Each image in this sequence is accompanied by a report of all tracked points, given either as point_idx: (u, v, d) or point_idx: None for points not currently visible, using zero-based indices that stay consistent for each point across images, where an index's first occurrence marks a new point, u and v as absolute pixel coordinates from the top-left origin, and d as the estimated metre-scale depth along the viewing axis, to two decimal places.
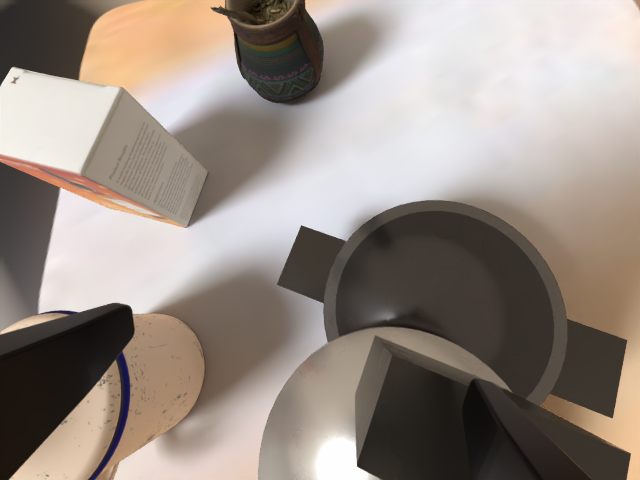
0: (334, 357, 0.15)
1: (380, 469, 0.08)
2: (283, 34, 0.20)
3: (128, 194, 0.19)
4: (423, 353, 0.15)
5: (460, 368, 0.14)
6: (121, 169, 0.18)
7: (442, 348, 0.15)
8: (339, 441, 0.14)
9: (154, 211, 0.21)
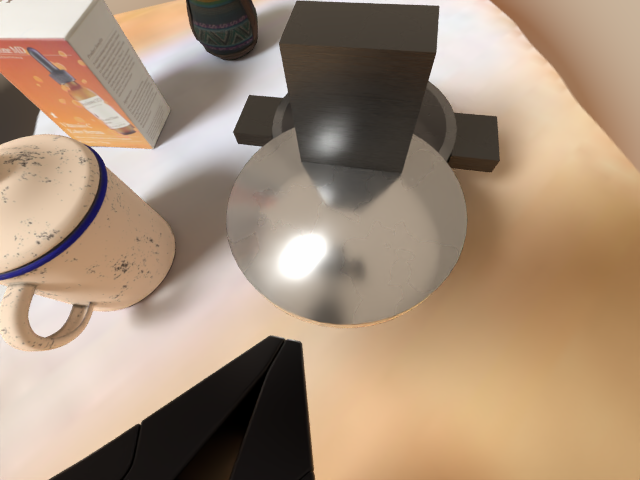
0: (282, 143, 0.19)
1: (294, 40, 0.12)
2: None
3: (103, 81, 0.23)
4: None
5: None
6: (97, 55, 0.22)
7: None
8: (292, 191, 0.17)
9: (124, 112, 0.25)
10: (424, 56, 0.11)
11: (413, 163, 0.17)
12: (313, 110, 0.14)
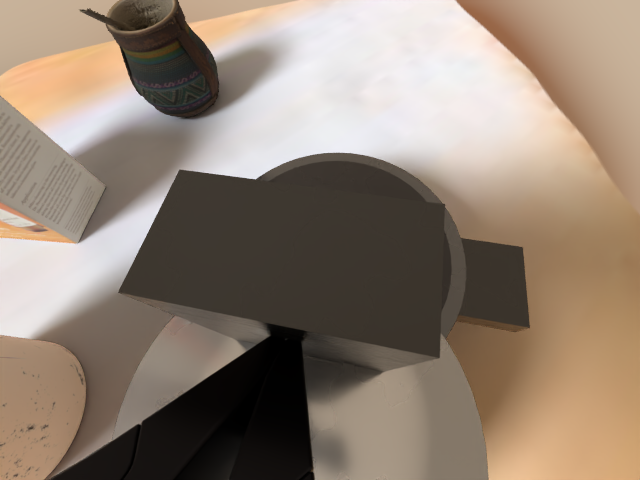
0: None
1: (150, 288, 0.06)
2: (162, 39, 0.22)
3: None
4: None
5: None
6: None
7: None
8: None
9: (23, 214, 0.19)
10: (414, 354, 0.05)
11: None
12: (228, 329, 0.08)
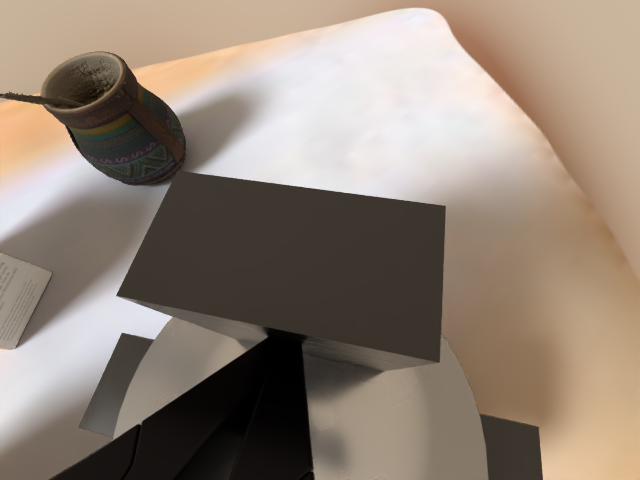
0: None
1: (149, 291, 0.06)
2: (107, 115, 0.18)
3: None
4: None
5: None
6: None
7: None
8: None
9: None
10: (413, 358, 0.05)
11: None
12: (227, 330, 0.08)
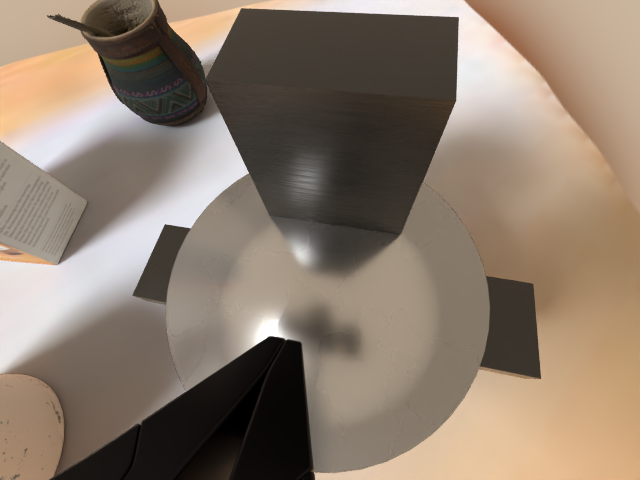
0: (245, 189, 0.14)
1: (230, 76, 0.07)
2: (142, 45, 0.20)
3: None
4: None
5: None
6: None
7: None
8: (256, 260, 0.13)
9: None
10: (436, 105, 0.07)
11: (416, 220, 0.13)
12: (274, 165, 0.10)
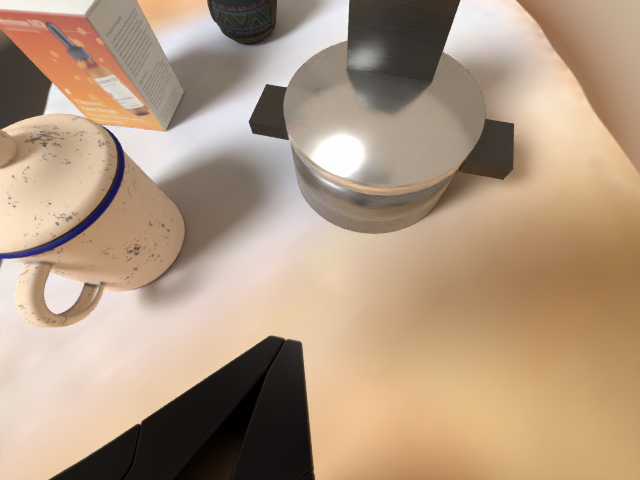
0: (329, 54, 0.22)
1: None
2: None
3: (120, 60, 0.22)
4: None
5: None
6: (115, 34, 0.22)
7: None
8: (339, 91, 0.20)
9: (139, 93, 0.25)
10: None
11: (442, 74, 0.21)
12: (368, 10, 0.17)
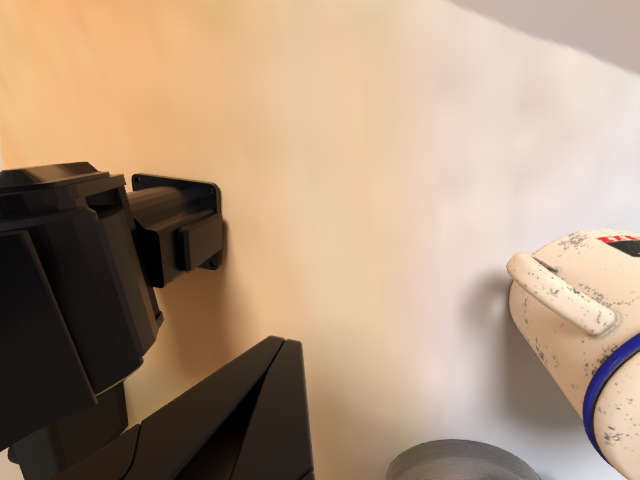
0: None
1: None
2: None
3: None
4: None
5: None
6: None
7: None
8: None
9: None
10: None
11: None
12: None
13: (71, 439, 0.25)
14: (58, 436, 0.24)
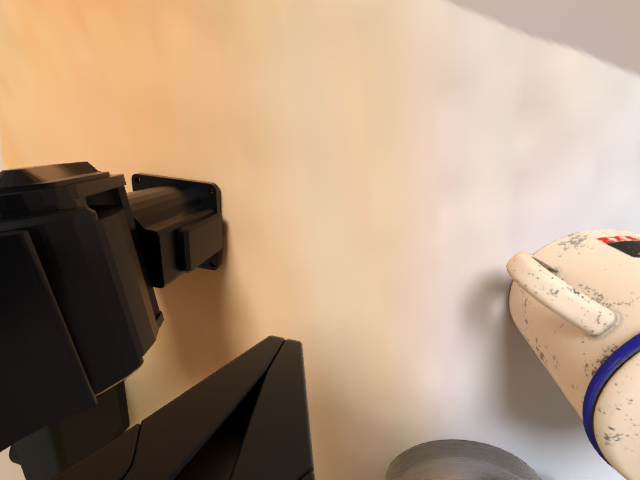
0: None
1: None
2: None
3: None
4: None
5: None
6: None
7: None
8: None
9: None
10: None
11: None
12: None
13: (72, 439, 0.25)
14: (59, 436, 0.24)
